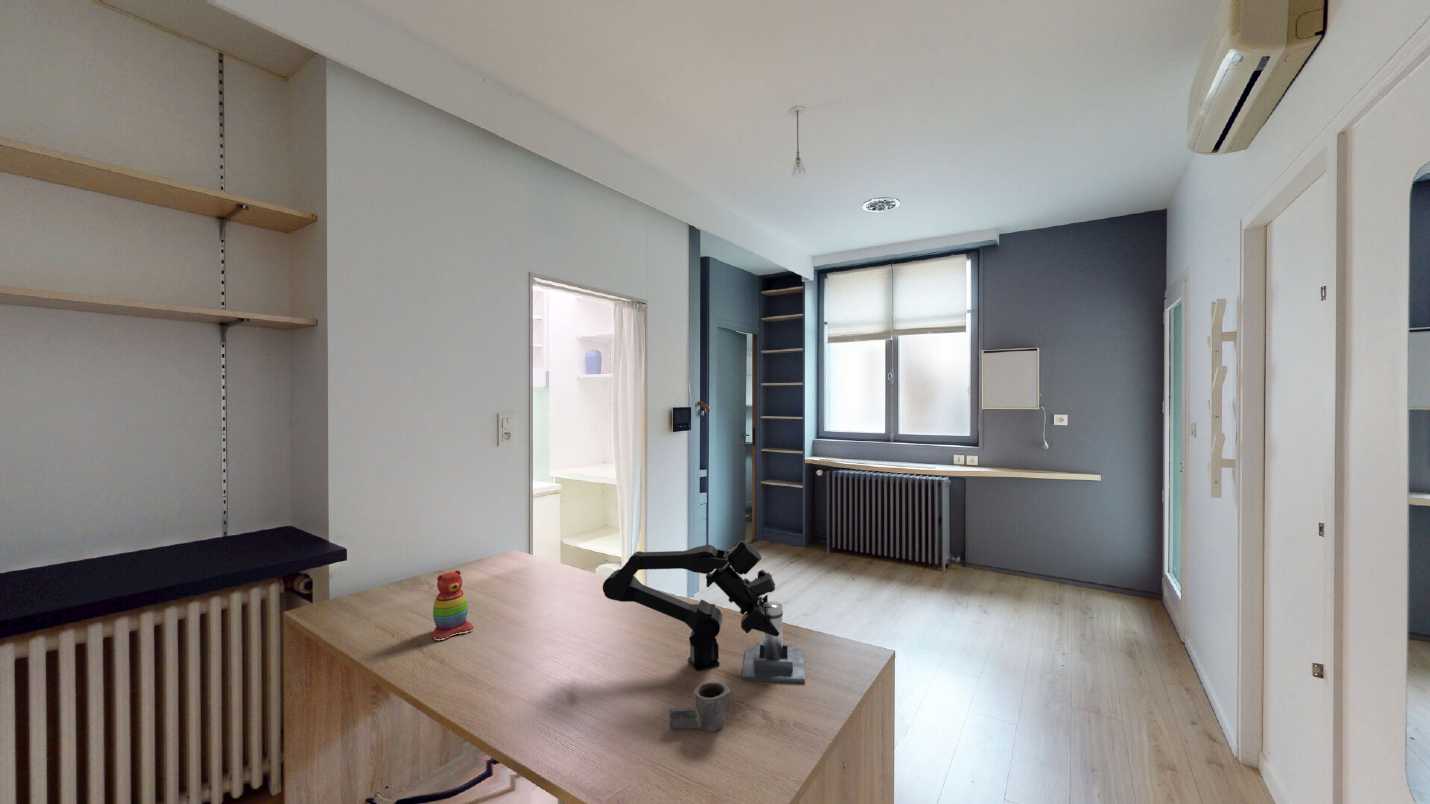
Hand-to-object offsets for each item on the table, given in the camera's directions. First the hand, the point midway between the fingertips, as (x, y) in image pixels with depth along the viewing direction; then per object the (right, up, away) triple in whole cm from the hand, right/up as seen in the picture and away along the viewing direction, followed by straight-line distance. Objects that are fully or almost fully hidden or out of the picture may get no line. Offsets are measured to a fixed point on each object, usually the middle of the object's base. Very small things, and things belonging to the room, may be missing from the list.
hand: (778, 630), depth 132 cm
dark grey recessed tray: (-1, -9, 0) cm, 9 cm away
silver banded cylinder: (-1, -7, 0) cm, 7 cm away
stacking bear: (-95, -11, +25) cm, 99 cm away
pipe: (-19, -10, -24) cm, 32 cm away
